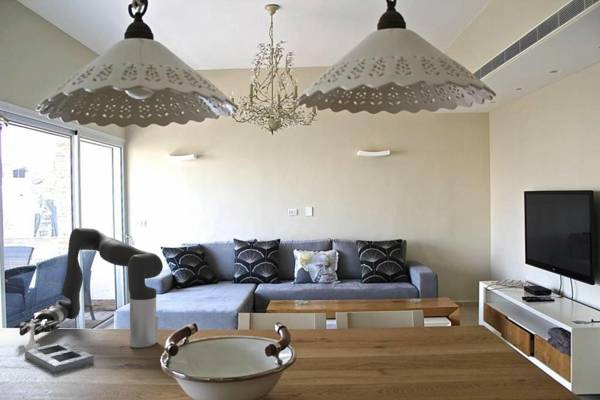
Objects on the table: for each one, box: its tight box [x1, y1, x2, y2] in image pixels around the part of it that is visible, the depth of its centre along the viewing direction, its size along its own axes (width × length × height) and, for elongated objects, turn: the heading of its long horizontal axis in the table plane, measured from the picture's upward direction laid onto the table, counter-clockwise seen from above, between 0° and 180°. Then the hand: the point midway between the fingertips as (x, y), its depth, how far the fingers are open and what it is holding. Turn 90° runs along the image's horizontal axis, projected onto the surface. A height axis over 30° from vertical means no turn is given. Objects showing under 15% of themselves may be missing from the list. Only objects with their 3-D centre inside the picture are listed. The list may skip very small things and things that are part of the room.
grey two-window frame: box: [24, 341, 95, 375], centre depth 145 cm, size 12×22×2 cm, turn 52°
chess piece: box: [23, 318, 41, 350], centre depth 158 cm, size 5×5×10 cm
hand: (28, 332), depth 155 cm, fingers open, 4 cm apart
